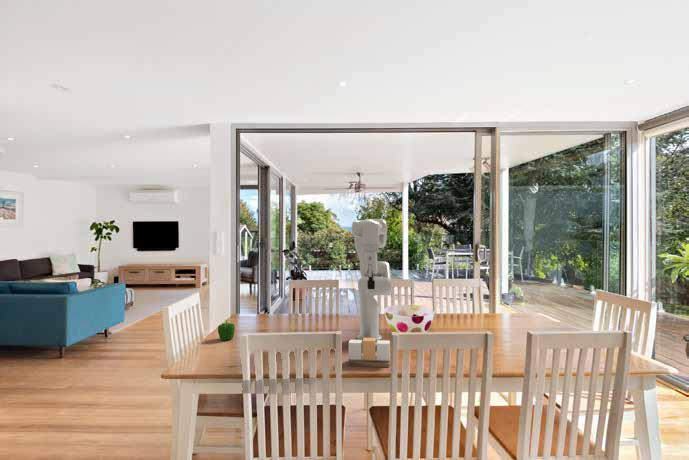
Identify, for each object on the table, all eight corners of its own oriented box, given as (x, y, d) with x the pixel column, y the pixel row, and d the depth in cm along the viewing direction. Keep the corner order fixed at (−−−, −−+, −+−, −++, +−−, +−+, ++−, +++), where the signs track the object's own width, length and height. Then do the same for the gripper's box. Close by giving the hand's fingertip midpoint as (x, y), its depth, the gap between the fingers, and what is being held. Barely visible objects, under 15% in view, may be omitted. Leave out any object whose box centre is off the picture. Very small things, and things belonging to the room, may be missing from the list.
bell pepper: (230, 342, 213) (230, 322, 213) (215, 341, 214) (215, 321, 214) (237, 337, 221) (237, 318, 221) (223, 337, 223) (223, 318, 223)
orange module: (375, 356, 181) (375, 337, 181) (374, 360, 176) (374, 341, 176) (363, 356, 181) (363, 337, 181) (362, 359, 176) (362, 340, 176)
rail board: (351, 358, 185) (350, 337, 185) (390, 359, 182) (389, 338, 182) (348, 365, 175) (347, 344, 175) (389, 367, 172) (389, 345, 172)
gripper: (378, 249, 184) (378, 291, 184) (379, 247, 199) (380, 286, 199) (360, 249, 185) (361, 291, 185) (364, 247, 200) (364, 286, 200)
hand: (371, 288), depth 192 cm, fingers closed
